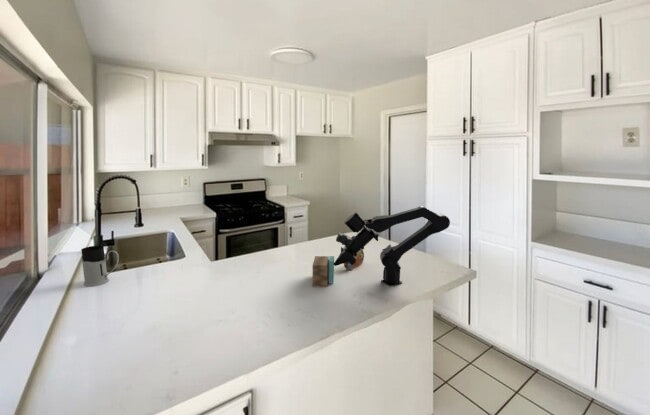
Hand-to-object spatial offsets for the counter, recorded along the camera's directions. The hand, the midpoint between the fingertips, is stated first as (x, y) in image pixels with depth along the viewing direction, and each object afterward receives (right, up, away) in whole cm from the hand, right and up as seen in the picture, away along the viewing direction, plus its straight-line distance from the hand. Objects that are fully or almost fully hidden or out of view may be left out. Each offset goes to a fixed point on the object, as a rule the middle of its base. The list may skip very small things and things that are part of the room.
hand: (334, 264), depth 137 cm
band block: (-6, -7, +2) cm, 9 cm away
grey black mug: (-97, -7, -1) cm, 98 cm away
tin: (+10, -5, +19) cm, 22 cm away
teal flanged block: (-5, -7, +1) cm, 8 cm away
